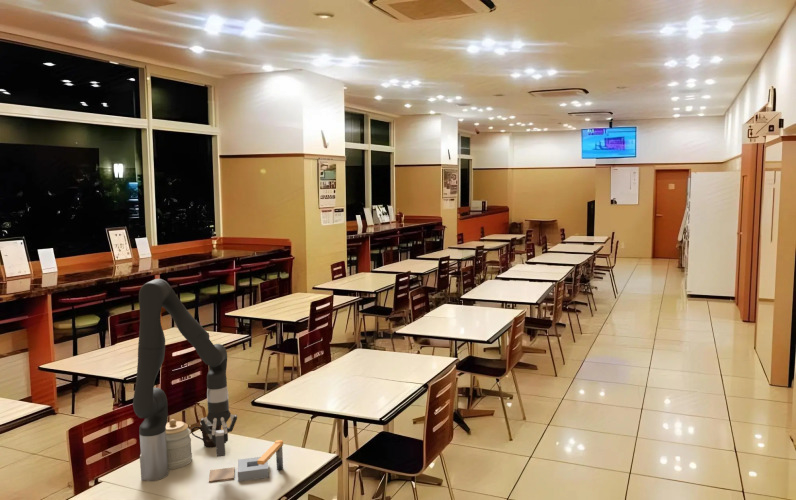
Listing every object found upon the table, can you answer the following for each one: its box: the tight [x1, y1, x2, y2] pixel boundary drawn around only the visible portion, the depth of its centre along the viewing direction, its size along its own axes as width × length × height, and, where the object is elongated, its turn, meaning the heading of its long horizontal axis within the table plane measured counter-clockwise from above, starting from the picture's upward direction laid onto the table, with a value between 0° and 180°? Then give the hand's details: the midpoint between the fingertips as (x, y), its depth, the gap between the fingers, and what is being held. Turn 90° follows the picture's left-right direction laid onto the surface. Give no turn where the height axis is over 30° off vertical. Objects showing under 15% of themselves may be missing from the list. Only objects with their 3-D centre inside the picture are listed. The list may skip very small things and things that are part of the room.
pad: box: [208, 466, 235, 483], centre depth 231 cm, size 9×9×1 cm
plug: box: [215, 429, 226, 458], centre depth 230 cm, size 3×3×9 cm
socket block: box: [237, 456, 270, 482], centre depth 233 cm, size 11×11×4 cm
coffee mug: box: [190, 420, 222, 449], centre depth 259 cm, size 12×9×10 cm
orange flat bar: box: [257, 439, 284, 465], centre depth 227 cm, size 18×3×1 cm, turn 168°
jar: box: [166, 418, 193, 470], centre depth 242 cm, size 13×13×18 cm
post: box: [275, 446, 284, 472], centre depth 235 cm, size 2×2×9 cm
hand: (220, 442), depth 230 cm, fingers closed on plug, 3 cm apart
